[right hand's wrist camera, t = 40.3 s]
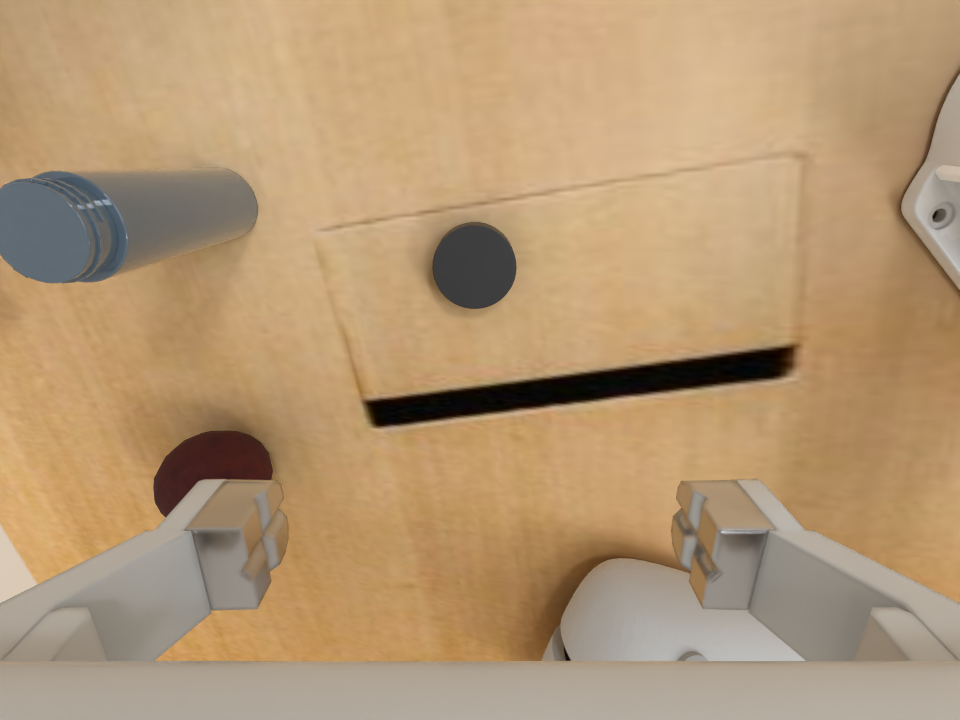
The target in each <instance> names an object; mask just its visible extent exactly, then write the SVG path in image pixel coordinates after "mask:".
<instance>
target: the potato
mask: <svg viewBox="0 0 960 720" xmlns="http://www.w3.org/2000/svg"><path fill="white" fill-rule="evenodd" d="M272 473H273V470H272V465H271V461H270V457H269V454H268V451H267V450H266V449H265V448H264V446H263V445H262V444H261V442H259V441H258V440H256V439H255V438H253V437H252V436H250V435H247V434H244V433H240V432H237V431H210V432H205V433H201V434H199V435H197V436H194V437H192V438H189V439H187V440H185V441H183V442H182V443H181V444H180V445H178V446H177V447H176V448H175V449H174V450H173V451H172V452H171V453H169V454H168V455H167V456H166V457H165V459H164V461H163V463H162V465H161V466H160V468H159V470H158V472H157V474H156V476H155V478H154V499H155V503H156V505H157V507H158V509H159V510H160V512H161V513H162V514H163V515H164V516H165V517H167V516H168V515H169V514H170V512H171V511H172V510H173V509H174V508H175V507H176V506H177V505H178V503H179V502H180V501H181V500H182V499H183V498H184V497H185V496H186V495H187V493H188V492H189V491H190V490H191V489H192V488H193V487H194V486H195V484H196V483H197V482H198V481H201V480H204V479H227V480H229V479H239V480H271V478H272Z"/></svg>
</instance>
